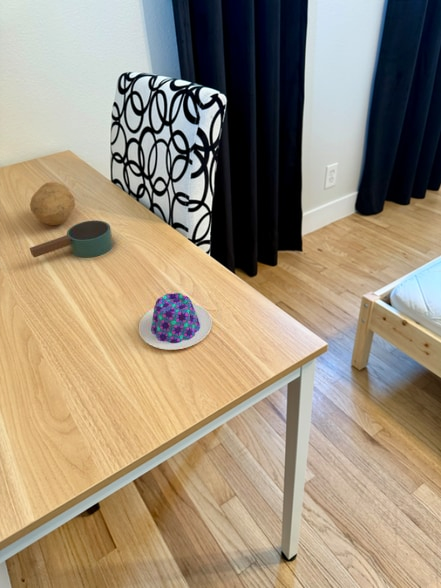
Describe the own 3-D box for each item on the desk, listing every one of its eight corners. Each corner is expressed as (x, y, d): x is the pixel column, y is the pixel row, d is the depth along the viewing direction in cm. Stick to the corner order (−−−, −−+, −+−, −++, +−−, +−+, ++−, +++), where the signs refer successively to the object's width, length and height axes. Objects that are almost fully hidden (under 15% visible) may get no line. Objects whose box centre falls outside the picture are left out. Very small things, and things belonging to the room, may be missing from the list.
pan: (102, 232, 98) (98, 215, 95) (121, 247, 92) (117, 230, 90) (29, 258, 90) (22, 240, 87) (44, 276, 84) (38, 258, 82)
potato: (30, 237, 97) (19, 204, 92) (41, 210, 108) (31, 180, 103) (74, 232, 98) (66, 200, 93) (80, 206, 109) (73, 176, 105)
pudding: (226, 333, 69) (225, 307, 66) (160, 364, 64) (155, 338, 61) (188, 296, 77) (186, 272, 74) (127, 321, 72) (122, 297, 69)
